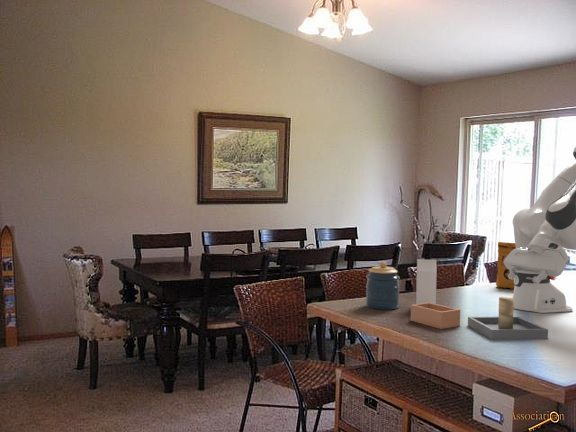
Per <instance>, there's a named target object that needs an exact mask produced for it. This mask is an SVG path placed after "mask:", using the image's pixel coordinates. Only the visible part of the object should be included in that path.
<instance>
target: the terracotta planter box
mask: <svg viewBox="0 0 576 432" xmlns="http://www.w3.org/2000/svg"><path fill="white" fill-rule="evenodd" d="M410 321H411V322H413V323H414V322H415V323H419V324H422V325H426V326H429V327H433V328H436V329H439V330H440V329H441V330H443V329H450V328H455V327H460V326H461V309H459V308H455V307H450V306H447V305H442V304H438V303H436V304H434V303H421V304H416V303H415V304H410Z"/></svg>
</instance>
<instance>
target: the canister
mask: <svg viewBox="0 0 576 432" xmlns="http://www.w3.org/2000/svg"><path fill="white" fill-rule="evenodd" d="M397 273H399V271H398V270H397V269H396V268H395V267H393V266H387V263H386V262H385V261H381V262H380V263H379V266H378V265H377V266H372V267H371V268H369V269H368V274H367V275H366V276H365V277H366V279H367V281H366V284H365V286H366V287H365V289H366V293H365V295H366V296H365V304H366V305H365V306H366V307H367V308H370V309H374V310H389V311H390V310H396V309H398V308H399V306H400V284H399V280H400V279H401V277H400V276H399V275H398V274H397Z"/></svg>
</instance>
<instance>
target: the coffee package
mask: <svg viewBox="0 0 576 432" xmlns="http://www.w3.org/2000/svg"><path fill="white" fill-rule="evenodd" d="M514 249H516V245H515V242H503V241H498V242H497V255H498V256H497V265H496V266H497V275H496V281H495V286H496V287H497V288H501V289H506V288H510V289H509V290H514V287H515V285H514V280H512V279H509V278H508V275H509V273H510V270H509V269H507V268H506V266H505V265H504V260H505V258H506V257H507V256H508V255H509V254H510V252H511V251H513V250H514Z"/></svg>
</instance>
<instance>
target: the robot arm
mask: <svg viewBox="0 0 576 432" xmlns="http://www.w3.org/2000/svg"><path fill="white" fill-rule="evenodd" d="M572 155H573V157H574V159H575V161H573V162H571V163H570V164H569V165H568V166H567V167H565V168H564V169H562V171H561V172H559V174H557V176H556V177H554V179H553V180H551V182H550V183H549V184H548V185H547V186H546V187H545V188H544V189H543V190H542V191H541V193H540V195H539V197H538V198H537V200H536V201H535V203H533V205H532V206H531V207H530V208H523V209H520V210H519V211H517V212H516V213H515V215H513V219H512V226H513V234H514V235H513V237H514V243H515V245H516V249H514V250H513V251H511V252H510V254H509V255H508V256H507V257H506V258H505V260H504V265H505V266H506V268H507V269H509V270H510V273H509V275H508V278H509V279H512V280H514V285H515V287H514V289H513V294H512V298H514V309H515V310H521V311H527V312H535V313H539V314H542V313H543V314H545V313H546V314H548V313H549V314H550V313H565V312H573V307H571V306H569V305H567V300H566V295H565V294H564V293H563V292H562V291H561V290H560V289H558V288H557V287H556V286H555V285H554V284H553V283H551V281H555V280H556V279H557V277H559V276H561V275H562V273H563V272H564V270H565V268H566V265H567V262H568V261H569V259H570V257H569V256H568V253H567V251H566V250H574V251H576V146H575V147H574V148H573V150H572ZM565 249H566V250H565Z"/></svg>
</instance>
